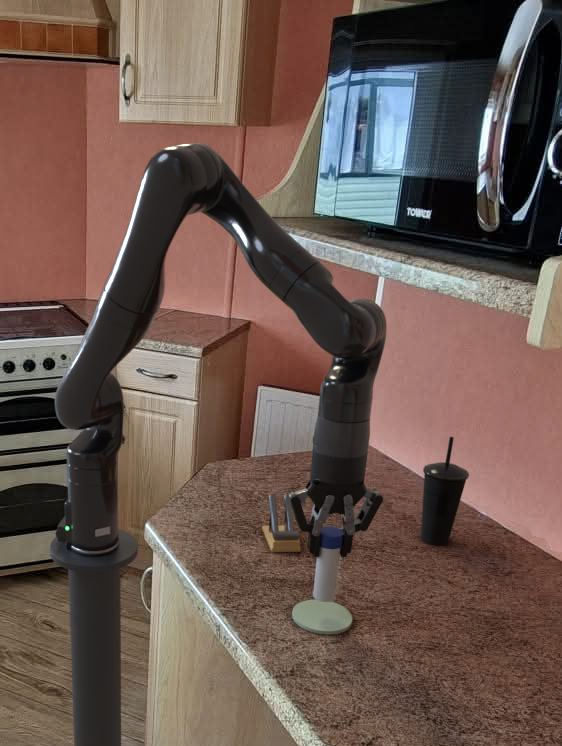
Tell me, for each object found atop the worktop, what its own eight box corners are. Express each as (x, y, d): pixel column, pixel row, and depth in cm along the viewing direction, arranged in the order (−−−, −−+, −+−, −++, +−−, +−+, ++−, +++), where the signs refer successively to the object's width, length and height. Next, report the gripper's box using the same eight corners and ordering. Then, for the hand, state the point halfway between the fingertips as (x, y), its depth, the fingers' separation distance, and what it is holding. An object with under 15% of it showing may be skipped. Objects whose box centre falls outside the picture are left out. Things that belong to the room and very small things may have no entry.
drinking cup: (465, 543, 145) (484, 440, 137) (434, 552, 142) (452, 447, 134) (434, 527, 151) (450, 427, 143) (404, 535, 148) (419, 433, 140)
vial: (304, 542, 125) (319, 520, 115) (326, 541, 125) (344, 520, 115) (311, 605, 121) (327, 588, 111) (334, 605, 121) (353, 588, 111)
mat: (290, 630, 118) (291, 626, 118) (293, 599, 127) (293, 596, 126) (352, 638, 117) (353, 634, 116) (351, 606, 125) (351, 603, 124)
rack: (262, 529, 150) (264, 492, 147) (289, 529, 150) (292, 491, 147) (271, 552, 141) (274, 513, 138) (300, 551, 142) (304, 512, 139)
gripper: (296, 456, 107) (286, 568, 114) (399, 455, 108) (384, 566, 114) (284, 437, 114) (276, 544, 121) (381, 436, 114) (368, 542, 121)
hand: (328, 554), depth 117 cm, fingers closed on vial, 3 cm apart
